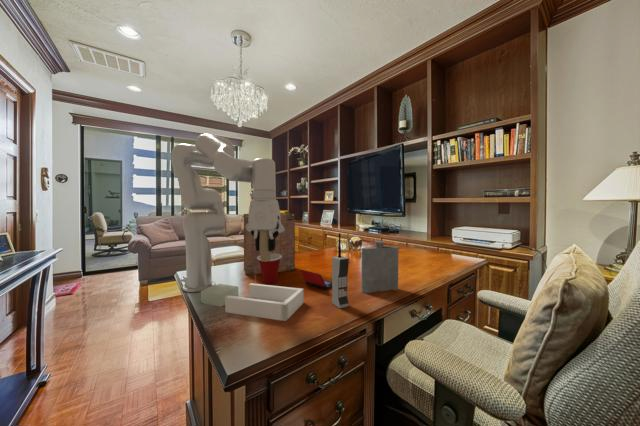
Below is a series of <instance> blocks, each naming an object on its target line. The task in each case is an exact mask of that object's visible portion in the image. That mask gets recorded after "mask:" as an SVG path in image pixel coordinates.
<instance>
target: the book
mask: <svg viewBox="0 0 640 426" xmlns="http://www.w3.org/2000/svg"><path fill="white" fill-rule="evenodd" d="M295 215H296V214H295V213H291V212H280V220H281V224H282V225H283V227H284V229H285V230H284V231H283V232H281V233H280V234H279V235H278V236H277V238H275V244H276V247H275V250H273V251H271V253H274V254H280V255H282V257H281V259H280V263H279V270H278V273H280V272H282V273H283V272H294V271H295V269H296V264H295V262H296V254H295V253H296V248H295V246H296V243H295V242H296V240H295V239H296V237H295V236H296V234H295V231H296V229H295V228H296V227H295V225H296V221H295V219H296V218H295V217H296V216H295ZM248 217H249V213H244V214H243V270H244V271H245V272H244V274H245V276H251V275H252V274H253V275H262V273H261V268H260V264H259V260H258V259H257V257H258V256H260V250H259V251H256V247H255V239H254V236H253V235H252V234H251V233H250V232H249V231H247V230H246V228H247V226H248ZM277 230H278V229H276V231H277Z"/></svg>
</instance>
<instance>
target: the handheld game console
mask: <svg viewBox="0 0 640 426" xmlns="http://www.w3.org/2000/svg"><path fill="white" fill-rule="evenodd" d="M299 270H300V273H301V274H300V275H301V276H302V277H303V279H304V281H305V285H308V286H311V287H317V288H318V289H321V290H324V291H327V290H330V289H331V290H332V281H329V280H324V278H323V276H322V275H321V274H320V273H317V272H312V271H308V270H304V269H299Z"/></svg>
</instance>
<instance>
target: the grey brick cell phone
mask: <svg viewBox="0 0 640 426" xmlns="http://www.w3.org/2000/svg"><path fill="white" fill-rule="evenodd" d="M337 248H338V249H337V250H338V252H337V253H338V254H337V255H335V256H332V258H331V261H332V262H331V269H332V271H331V272H332V273H331V277H332V279H331V280H332V281H331V282H332V288H331V290H332V291H331V294H332V295H331V297H332V298H331V300H332V301H331V302H332V304H333V305H334V306H335V307H337V308H339V309H343V308H348V307H349V306H350V302H349V298H348V276H349V275H348V273H349V267H350V258H349V257H346V256H343V255H342V247H341V233H338V247H337Z"/></svg>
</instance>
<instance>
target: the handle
mask: <svg viewBox="0 0 640 426" xmlns="http://www.w3.org/2000/svg"><path fill="white" fill-rule="evenodd" d="M269 239H270V236H269V231H268V230H260V240H259V249H260V256H261V261H264V262H266V261H270V258H271V257H270V256H271V251H269V248H268V240H269Z"/></svg>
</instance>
